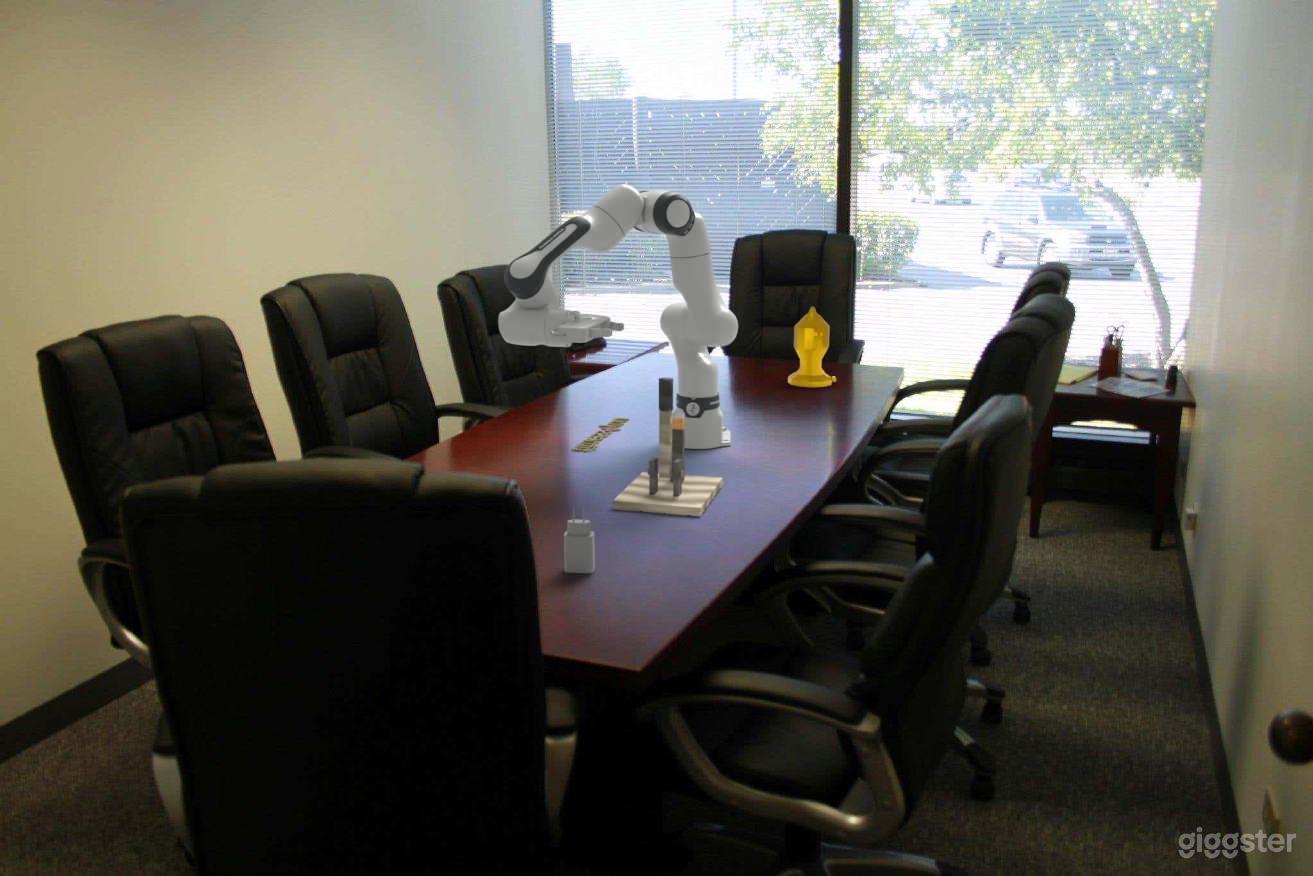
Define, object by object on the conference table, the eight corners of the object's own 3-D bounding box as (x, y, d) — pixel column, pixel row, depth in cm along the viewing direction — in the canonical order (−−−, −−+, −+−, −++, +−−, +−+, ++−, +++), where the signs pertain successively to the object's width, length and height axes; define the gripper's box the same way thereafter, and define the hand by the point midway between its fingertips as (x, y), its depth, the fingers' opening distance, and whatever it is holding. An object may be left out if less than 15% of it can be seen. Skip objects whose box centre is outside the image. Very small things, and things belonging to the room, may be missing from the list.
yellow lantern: (831, 376, 374) (834, 303, 367) (839, 389, 350) (843, 310, 344) (785, 376, 375) (787, 303, 368) (790, 388, 351) (793, 310, 344)
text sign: (565, 452, 268) (592, 454, 266) (565, 449, 268) (592, 451, 266) (610, 420, 305) (634, 421, 303) (610, 417, 305) (634, 419, 303)
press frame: (642, 479, 241) (642, 415, 237) (722, 485, 236) (723, 420, 232) (613, 509, 219) (612, 438, 215) (700, 516, 213) (701, 444, 210)
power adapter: (567, 566, 185) (565, 505, 182) (595, 567, 185) (594, 506, 182) (564, 572, 182) (562, 511, 180) (592, 573, 182) (591, 512, 179)
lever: (660, 474, 224) (660, 377, 219) (674, 475, 223) (674, 377, 218) (656, 478, 221) (657, 379, 216) (670, 479, 220) (671, 380, 215)
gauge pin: (671, 419, 235) (671, 409, 234) (692, 420, 233) (692, 410, 233) (661, 428, 226) (661, 418, 225) (682, 429, 225) (682, 419, 224)
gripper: (546, 321, 226) (603, 322, 222) (576, 310, 245) (629, 311, 241) (547, 348, 227) (604, 350, 224) (577, 335, 246) (629, 336, 243)
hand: (617, 329), depth 233 cm, fingers open, 8 cm apart
